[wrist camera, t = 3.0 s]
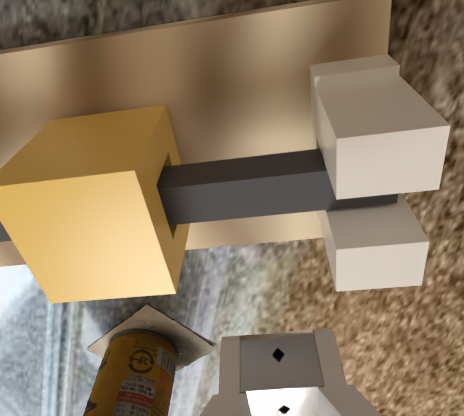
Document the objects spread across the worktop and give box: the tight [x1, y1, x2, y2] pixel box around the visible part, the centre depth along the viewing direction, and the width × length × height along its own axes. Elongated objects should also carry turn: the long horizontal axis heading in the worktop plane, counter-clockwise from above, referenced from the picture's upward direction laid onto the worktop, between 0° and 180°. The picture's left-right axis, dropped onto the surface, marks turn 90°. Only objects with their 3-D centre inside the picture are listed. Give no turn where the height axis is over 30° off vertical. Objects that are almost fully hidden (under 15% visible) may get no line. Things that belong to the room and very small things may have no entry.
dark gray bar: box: [0, 149, 398, 242], centre depth 19 cm, size 26×2×2 cm, turn 98°
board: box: [0, 0, 392, 267], centre depth 22 cm, size 29×13×1 cm, turn 98°
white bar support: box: [310, 54, 450, 291], centre depth 17 cm, size 4×8×7 cm, turn 8°
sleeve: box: [0, 105, 190, 303], centre depth 19 cm, size 6×6×6 cm
